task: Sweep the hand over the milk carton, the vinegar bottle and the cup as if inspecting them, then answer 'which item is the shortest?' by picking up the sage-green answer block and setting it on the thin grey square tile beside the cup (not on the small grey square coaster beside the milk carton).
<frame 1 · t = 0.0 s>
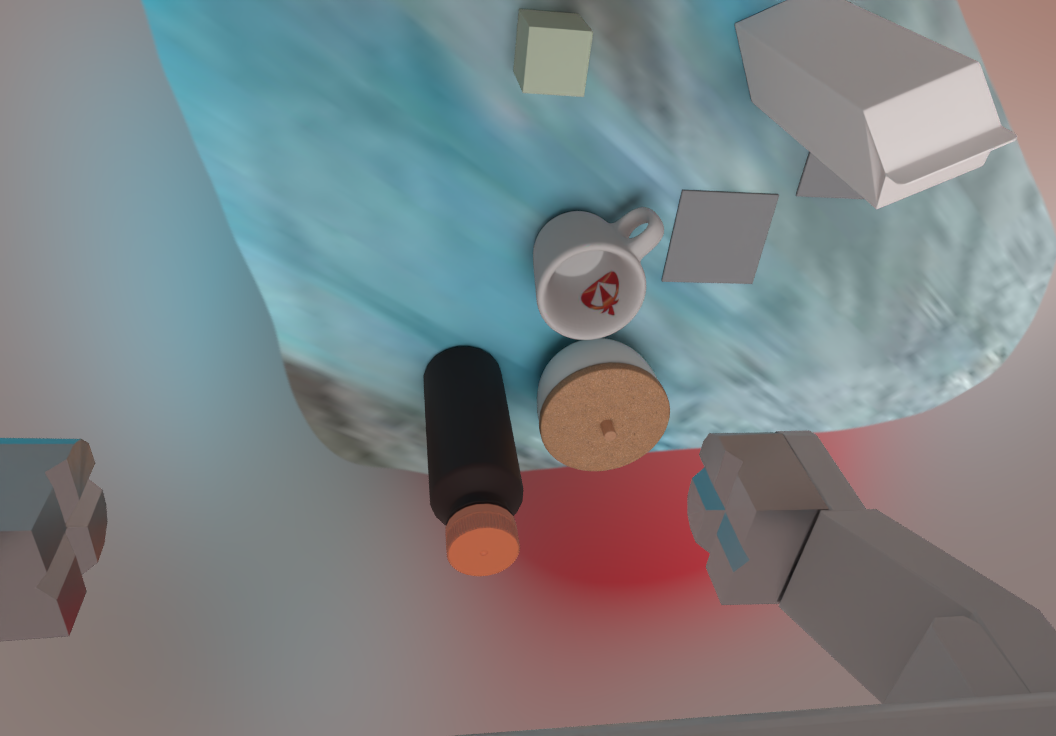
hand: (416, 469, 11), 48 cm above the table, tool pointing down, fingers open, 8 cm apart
thin grey square tile: (718, 238, 65), on the table
cup: (586, 232, 63), on the table
milk: (781, 45, 57), on the table
vinegar: (462, 375, 70), on the table
grey square coaster: (842, 160, 62), on the table
lidded jar: (586, 366, 71), on the table
answer block: (545, 42, 54), on the table
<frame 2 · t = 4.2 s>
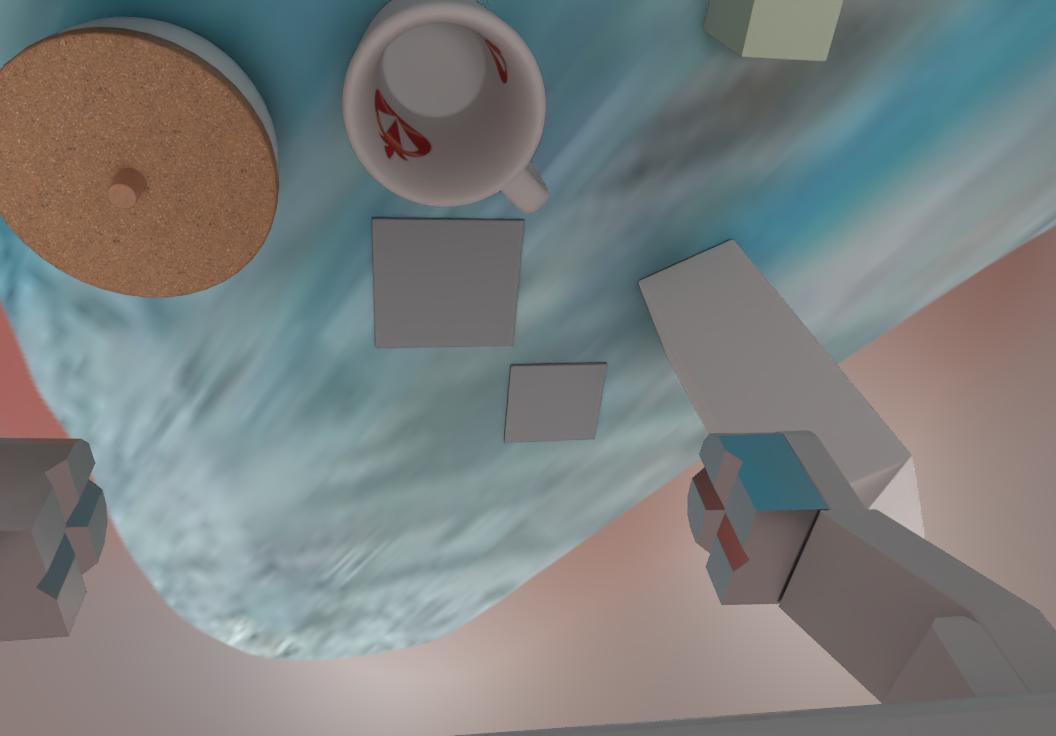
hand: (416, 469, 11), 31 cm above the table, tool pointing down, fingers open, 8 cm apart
thin grey square tile: (447, 285, 44), on the table
cup: (453, 81, 38), on the table
milk: (696, 297, 48), on the table
grey square coaster: (554, 402, 51), on the table
lidded jar: (172, 113, 37), on the table
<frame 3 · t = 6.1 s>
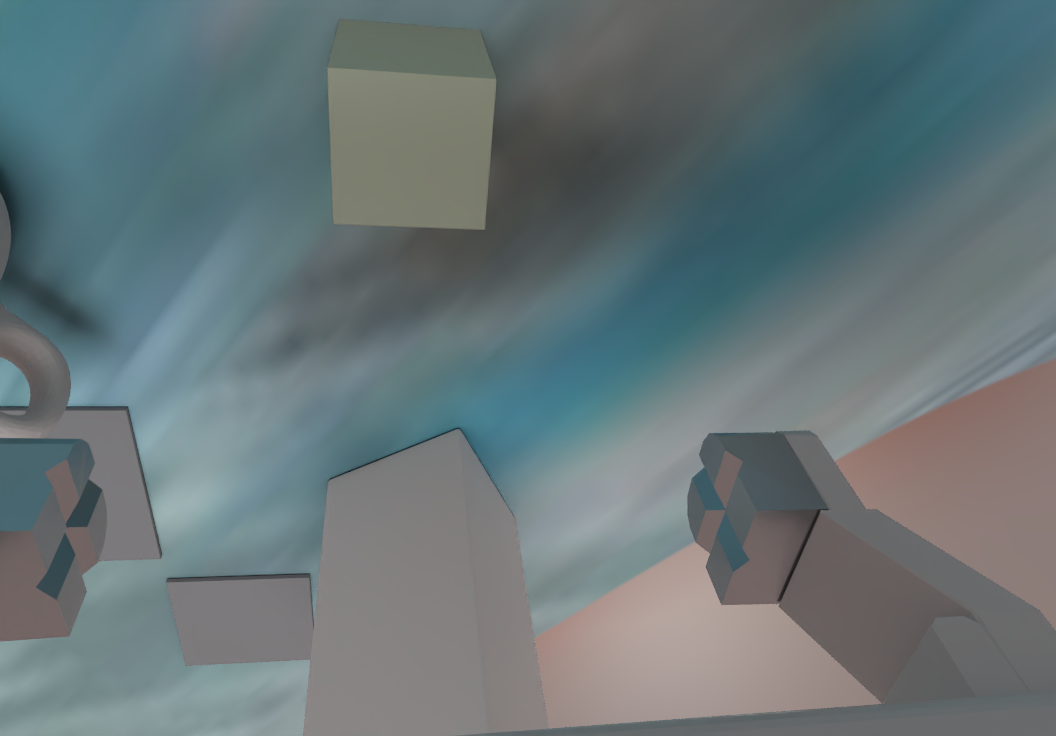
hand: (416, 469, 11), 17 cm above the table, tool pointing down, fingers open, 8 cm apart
thin grey square tile: (35, 488, 31), on the table
milk: (425, 495, 34), on the table
grey square coaster: (246, 619, 37), on the table
answer block: (409, 94, 24), on the table
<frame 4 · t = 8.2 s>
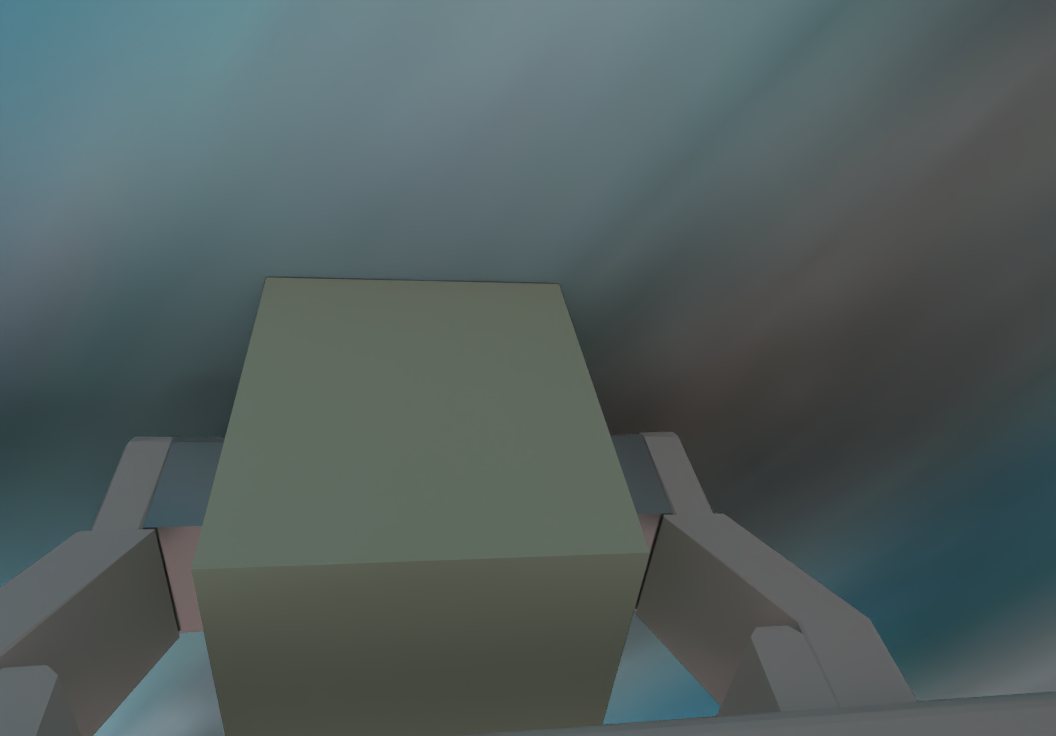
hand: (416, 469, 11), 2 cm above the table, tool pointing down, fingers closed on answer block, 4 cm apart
answer block: (414, 395, 12), on the table, touching gripper
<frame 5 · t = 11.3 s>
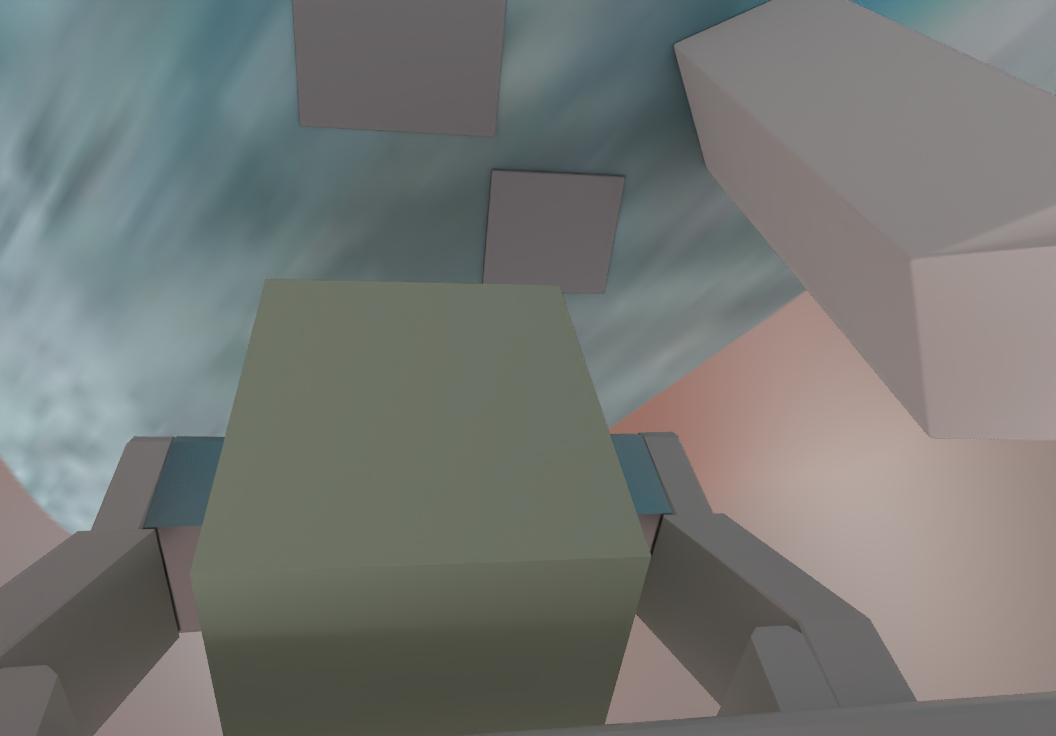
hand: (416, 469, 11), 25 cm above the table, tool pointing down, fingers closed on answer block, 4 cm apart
thin grey square tile: (400, 28, 31), on the table
milk: (753, 79, 34), on the table
grey square coaster: (550, 234, 37), on the table
answer block: (414, 397, 12), point 24 cm above the table, touching gripper
when the fingers open (3 cm above the table, at t = 14.6 s): answer block drops 1 cm, resting on thin grey square tile.
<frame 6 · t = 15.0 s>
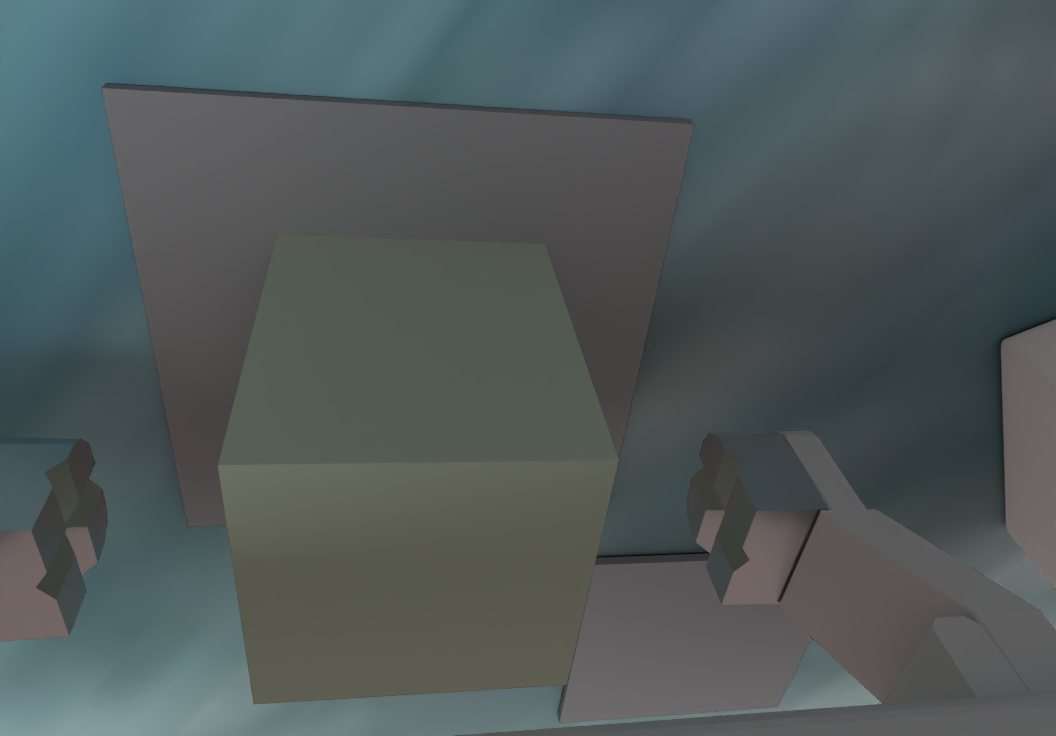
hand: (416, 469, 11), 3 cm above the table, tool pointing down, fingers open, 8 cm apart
thin grey square tile: (410, 342, 13), on the table
grey square coaster: (694, 637, 19), on the table
answer block: (411, 348, 13), resting on thin grey square tile
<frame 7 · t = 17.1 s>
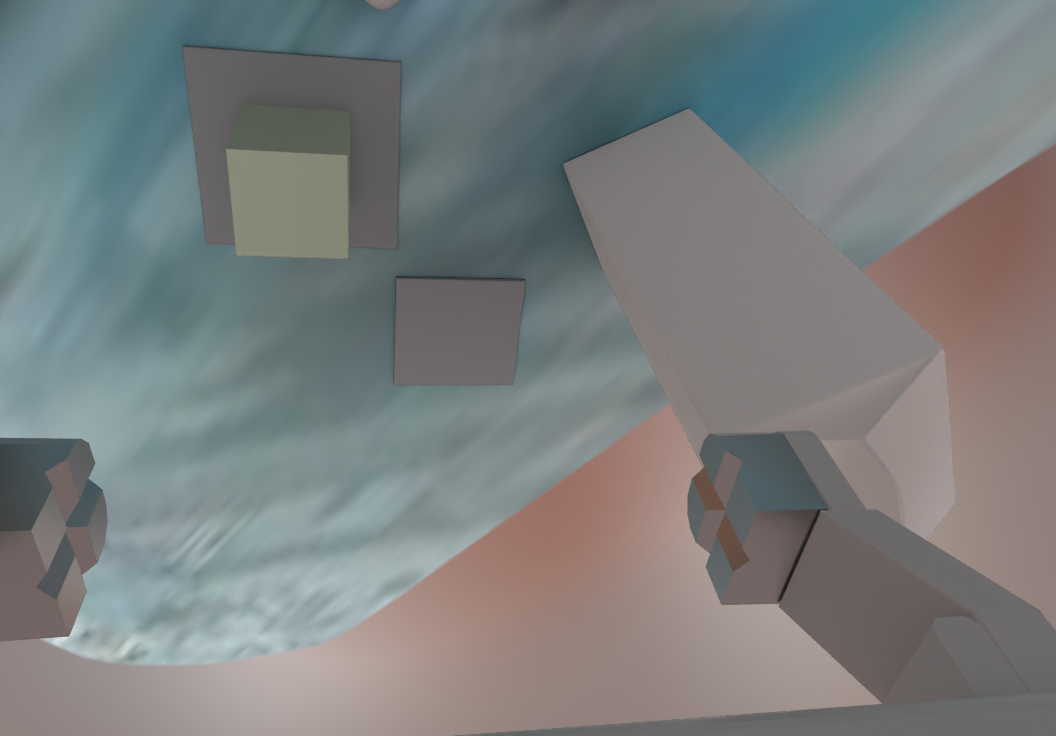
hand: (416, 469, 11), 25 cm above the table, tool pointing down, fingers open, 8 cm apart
thin grey square tile: (299, 155, 33), on the table
milk: (642, 192, 36), on the table
grey square coaster: (457, 332, 39), on the table
answer block: (299, 156, 33), resting on thin grey square tile
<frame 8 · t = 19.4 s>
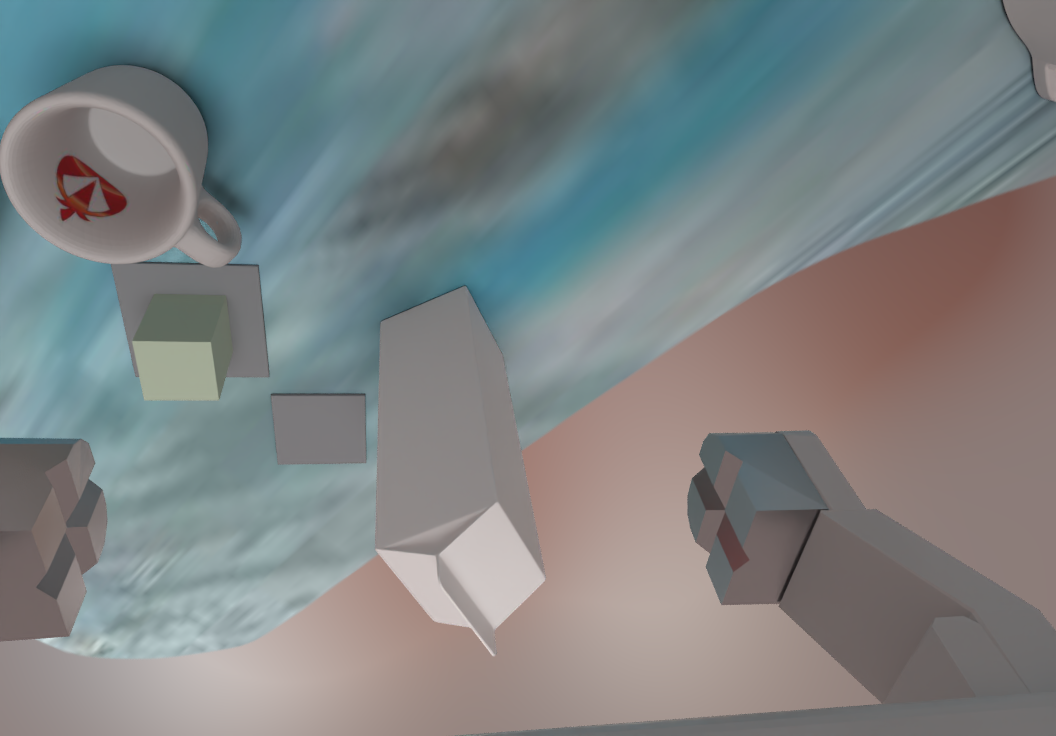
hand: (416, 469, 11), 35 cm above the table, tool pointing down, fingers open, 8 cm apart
thin grey square tile: (195, 321, 48), on the table
cup: (168, 143, 42), on the table
milk: (442, 336, 52), on the table
grey square coaster: (320, 428, 54), on the table
answer block: (194, 323, 48), resting on thin grey square tile
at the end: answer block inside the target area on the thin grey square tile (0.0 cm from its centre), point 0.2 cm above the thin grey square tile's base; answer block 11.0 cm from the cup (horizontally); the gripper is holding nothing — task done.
